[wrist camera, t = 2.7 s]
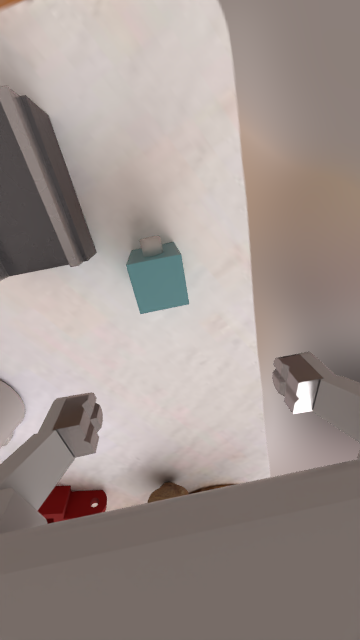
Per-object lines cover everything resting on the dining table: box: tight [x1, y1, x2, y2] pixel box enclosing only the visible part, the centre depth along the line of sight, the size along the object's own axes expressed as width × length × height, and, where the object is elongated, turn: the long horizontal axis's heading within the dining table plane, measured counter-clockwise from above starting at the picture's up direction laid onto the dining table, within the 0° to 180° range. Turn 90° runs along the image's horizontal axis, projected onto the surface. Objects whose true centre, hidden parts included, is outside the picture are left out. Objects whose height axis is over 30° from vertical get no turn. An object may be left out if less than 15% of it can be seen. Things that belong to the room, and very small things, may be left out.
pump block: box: [126, 236, 189, 314], centre depth 23 cm, size 5×6×7 cm
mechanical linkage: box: [38, 486, 107, 524], centre depth 46 cm, size 16×7×5 cm, turn 79°
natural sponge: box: [148, 482, 188, 503], centre depth 46 cm, size 9×9×10 cm
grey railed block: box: [0, 86, 97, 281], centre depth 19 cm, size 12×12×6 cm
